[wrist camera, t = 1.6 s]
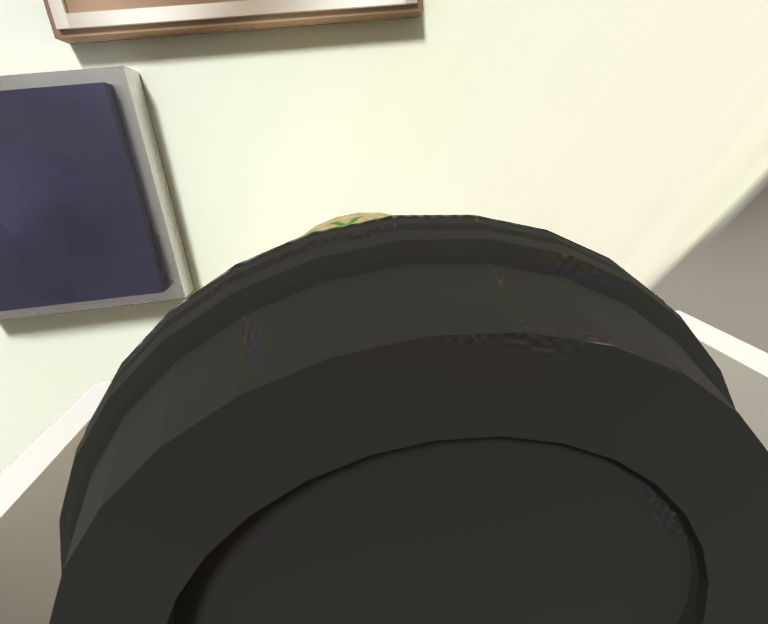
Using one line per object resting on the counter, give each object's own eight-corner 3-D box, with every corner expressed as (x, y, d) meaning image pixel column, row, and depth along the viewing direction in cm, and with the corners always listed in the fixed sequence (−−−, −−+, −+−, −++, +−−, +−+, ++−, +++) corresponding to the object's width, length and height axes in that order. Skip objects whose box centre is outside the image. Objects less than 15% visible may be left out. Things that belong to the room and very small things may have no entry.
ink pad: (-10, 312, 18) (-45, 330, 16) (-107, 91, 15) (-163, 85, 13) (194, 288, 18) (180, 303, 17) (138, 71, 15) (114, 63, 14)
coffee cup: (518, 267, 20) (981, 569, 6) (377, 421, 22) (461, 923, 8) (343, 109, 17) (407, -82, 3) (198, 305, 19) (-204, 784, 5)
